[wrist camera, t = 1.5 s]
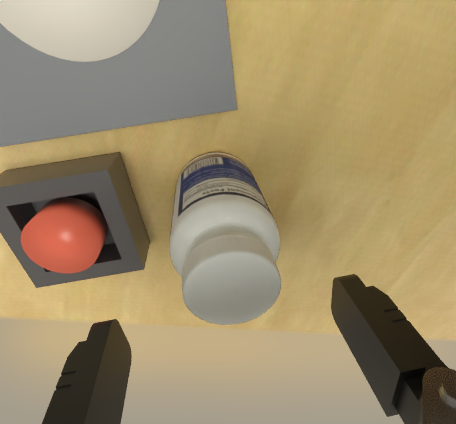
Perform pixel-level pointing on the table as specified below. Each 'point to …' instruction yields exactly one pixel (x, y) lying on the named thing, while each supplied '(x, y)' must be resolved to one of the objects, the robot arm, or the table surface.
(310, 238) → the table surface
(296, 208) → the table surface
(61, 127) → the grey mat
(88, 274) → the button housing
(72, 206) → the button
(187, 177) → the pill bottle
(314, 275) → the table surface
